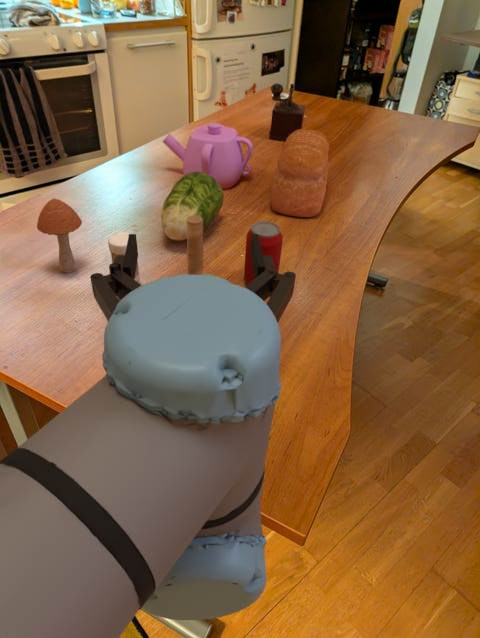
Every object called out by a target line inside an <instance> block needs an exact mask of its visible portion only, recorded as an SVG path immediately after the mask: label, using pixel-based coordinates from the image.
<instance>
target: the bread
mask: <svg viewBox="0 0 480 638" xmlns="http://www.w3.org/2000/svg"><path fill="white" fill-rule="evenodd" d="M329 151H330V142H329V140H328V139H327V136H326V135H325V134H324V133H323V132H321V131H319V130H316V129H308V128H302V129H299V130H296V131H294V132H293V133H291V134H290V135H289V136H288V138H287V140H286V141H284V143H283V145H282V148H281V152H280V156H279V159H278V161H277V167H276V169H275V171H274V175H273V178H272V182H271V186H270V192H269V193H270V207H271V209H272V210H273V211H274V212H276V213H277V214H278V213H279V214H281V215H284V216H289V217H290V216H291V217H292V216H293V217H296V218H297V217H298V218H312V217H315V216H316V215H317V214H319V213H320V212H321V210H322V207H323V204H324V200H325V196H326V193H327V192H326V191H327V184H328V174H329V168H330V162H329Z"/></svg>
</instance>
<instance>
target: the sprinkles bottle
mask: <svg viewBox="0 0 480 638" xmlns="http://www.w3.org/2000/svg"><path fill="white" fill-rule="evenodd" d="M129 234H131V233H130V232H124V231H123V232H122V231H121V232H116V233H113V234H112V235H110V236H108V238H107V242H108V243H107V245H108V250H109V253H110V256H111V264H112V263H114V260H115V258H116V257H117V256H125V252H126V247H127V242H128V237H129ZM140 277H141V276H140V269H139V261H138V260H137V266H136V273H135V279H134V280H135V281H137V282H138V283H139V284H141V278H140ZM117 298H118V297H117ZM118 299H119V298H118ZM119 301H121V299H119Z"/></svg>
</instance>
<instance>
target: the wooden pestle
mask: <svg viewBox="0 0 480 638" xmlns="http://www.w3.org/2000/svg"><path fill="white" fill-rule="evenodd" d="M186 222H187V239H186V253H187V255H186V256H187V273H188V275H203V273H204V229H203V218H202V217H200V216H197V215H192V216H189V217H187V219H186Z"/></svg>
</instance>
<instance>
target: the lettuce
mask: <svg viewBox="0 0 480 638" xmlns="http://www.w3.org/2000/svg"><path fill="white" fill-rule="evenodd" d="M224 196H225V195H224V192H223V189H221V186H220V185H219V184H218V182H217V181H216V180H215V179H214V178H213V177H211V176H210V175H208V174H206V173H202V172H193V173H188V174H187V175H185V176H184V175H183V176H181V177H180V179H178V180H177V181H176V182H175V184H174V185H173V187H172V188H171V190H170V193H169V194H168V195H167V197H166V198H165V200H164V202H163V205H162V208H161V209H162V210H161V216H160V217H161V226H162V231H163V232H164V234H165V235H166V237H168V238H169V239H171V240H173V241H176V242H177V241H179V242H181V241H182V242H183V241H185V240H187V222H186V219H187V217H189V216H192V215H197V216H200V217H202V218H203V230H204V229H205V228H206V227H208V226H209V225H210V224H211V223H212V222H213V221H214V219H215V217H216V216H217V215H216V214H217V213H219V212H220V210H221V208H222V206H224Z"/></svg>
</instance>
